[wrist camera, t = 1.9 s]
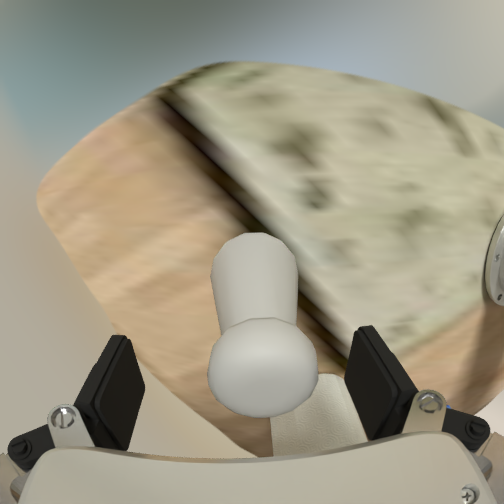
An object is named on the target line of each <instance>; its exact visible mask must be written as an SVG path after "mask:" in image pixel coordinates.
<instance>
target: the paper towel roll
mask: <svg viewBox="0 0 504 504" xmlns="http://www.w3.org/2000/svg"><path fill="white" fill-rule="evenodd" d="M318 379H319V381H318V383H317V385H316V387H315V389H314V391H313V393H312V395H311V397H310V398H308V399H307V400H306V401H305V402H303V403H302V404H301V405H300V406H298V407H297V408H296V409H294V410H293V411H291V412H288V413H285V414H282V415H279V416H276V417H270V423H271V433H272V444H273V456H285V455H294V454H303V453H310V452H317V451H323V450H329V449H335V448H340V447H345V446H350V445H355V444H360V443H364V442H368V441H367V438H366V435H365V432H364V430H363V427H362V424H361V421H360V419H359V416H358V413H357V411H356V408H355V406H354V404H353V401H352V399H351V396H350V394H349V392H348V389H347V387H346V385H345V382H344V380H343V379H342V378H341V377H339V376H337V375H335V374H325V373H323V374H318Z"/></svg>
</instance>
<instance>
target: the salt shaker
mask: <svg viewBox="0 0 504 504" xmlns="http://www.w3.org/2000/svg"><path fill="white" fill-rule="evenodd" d="M210 278H211V283H212V289H213V294H214V299H215V305H216V310H217V315H218V320H219V325H220V330H221V335H222V336H221V337H220V338H219V339H218V340H217V342H216V343H215V344H214V345H213V348H212V352H211V356H210V361H209V367H208V372H207V376H208V385H209V387H210V389H211V391H212V393H213V395H214V396H215V398H216V400H217V401H218V402H220V403H221V404H223V405H224V406H225V407H227V408H228V409H230V410H231V411H233V412H235V413H237V414H241V415H245V416H249V417H253V418H269V417H276V416H279V415H282V414H285V413H288V412H291V411H293V410H294V409H296V408H297V407H298V406H300V405H301V404H302V403H303V402H305V401H306V400H307V399H308V398H310V397H311V395H312V393H313V391H314V389H315V387H316V385H317V383H318V381H319V379H318V365H317V358H316V351H315V349H314V346H313V344H312V342H311V341H310V340H309V339H308V338H307V337H306V336H305V335H304V334H303V333H302V332H301V330H300V329H299V328H298V327H297V326H296V317H297V293H298V271H297V266H296V261H295V257H294V255H293V254H292V253H291V252H290V250H289V249H288V248H287V247H286V246H285V244H284V243H283V242H282V241H281V240H279V239H277V238H274V237H272V236H270V235H268V234H265V233H244V234H241V235H239V236H237V237H235V238H233V239H231V240H229V241H227V242H226V243H225V244H224V246H223V247H222V248H221V250H220V251H219V252H218V254H217V255H216V256H215V258H214V260H213V265H212V271H211V276H210Z"/></svg>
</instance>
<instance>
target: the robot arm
mask: <svg viewBox="0 0 504 504" xmlns="http://www.w3.org/2000/svg"><path fill="white" fill-rule="evenodd" d="M485 282H486V289H487V292H488V295H489V296H490V298H491V299H492V300H493V301H494V302H495V303H496V304H498V305H500V306H504V215H503V216H502V218H501V220H500V222H499V224H498V226H497V228H496V230H495V233H494V235H493V238H492V241H491V244H490V248H489V252H488V256H487V262H486V271H485ZM344 381H345V385H346V387H347V389H348V392H349V394H350V396H351V399H352V401H353V404H354V406H355V408H356V411H357V413H358V415H359V418H360V420H361V423H362V425H363V428H364V430H365V432H366V435H367V437H368V439H369V440H370V441H369V442H364V443H360V444H355V445H350V446H345V447H340V448H335V449H329V450H323V451H317V452H310V453H303V454H294V455H285V456H274V457H261V458H242V459H240V458H239V459H207V458H183V457H170V456H159V455H150V454H141V453H133V452H127V450H128V448H129V444H130V440H131V437H132V433H133V430H134V426H135V423H136V419H137V416H138V412H139V409H140V405H141V402H142V399H143V396H144V392H145V384H144V381H143V378H142V375H141V372H140V369H139V366H138V363H137V359H136V356H135V353H134V349H133V346H132V342H131V340H130V339H127V337H126V336H125V335H112V336H111V338H110V340H109V341H108V343H107V345H106V347H105V349H104V350H103V352H102V354H101V356H100V358H99V359H98V361H97V363H96V364H95V365H94V366H93V368H92V370H91V372H90V374H89V375H88V378H87V379H86V381H85V383H84V385H83V387H82V389H81V391H80V393H79V395H78V397H77V399H76V401H75V403H74V405H69V404H62V405H58V406H57V407H54V408H53V409H52V410H51V411H50V413H49V414H48V418H47V421H48V424H46V425H44V426H42V427H39V428H37V429H34V430H32V431H29V432H27V433H25V434H22V435H19V436H17V437H15V438H13V439H12V440H11V441H10V443H9V445H8V453H7V454H6V455H5V454H4V453H2V454H1V455H0V504H504V437H503V436H502V435H500V434H498V433H497V432H494V433H493V434H492V433H490V427H489V425H488V423H487V422H486V421H485V420H484V419H482V418H480V417H477V416H473V415H470V414H466V413H463V412H460V411H456V410H453V409H450V408H447V407H446V400H445V398H444V397H443V396H442V395H441V394H440V393H439V392H437V391H434V390H422V391H420V392H419V391H418V390H417V388H416V386H415V385H414V383H413V382H412V380H411V379H410V377H409V376H408V374H407V373H406V371H405V370H404V368H403V367H402V365H401V364H400V362H399V361H398V359H397V358H396V357H395V355H394V354H393V353H392V352H391V351H390V350H389V348H388V347H387V345H386V344H385V342H384V341H383V339H382V338H381V337H380V335H379V334H378V332H377V331H376V329H375V328H374V327H373V326H372V325H370V326H362V327H359V328H358V330H357V331H355V332H354V336H353V341H352V346H351V350H350V355H349V359H348V364H347V368H346V372H345V376H344ZM371 440H372V441H371Z"/></svg>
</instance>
